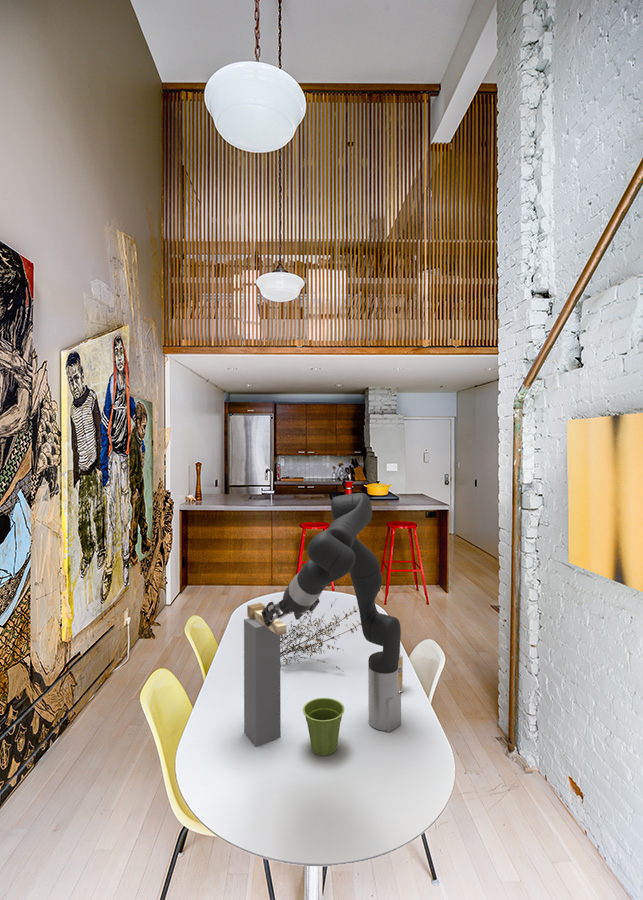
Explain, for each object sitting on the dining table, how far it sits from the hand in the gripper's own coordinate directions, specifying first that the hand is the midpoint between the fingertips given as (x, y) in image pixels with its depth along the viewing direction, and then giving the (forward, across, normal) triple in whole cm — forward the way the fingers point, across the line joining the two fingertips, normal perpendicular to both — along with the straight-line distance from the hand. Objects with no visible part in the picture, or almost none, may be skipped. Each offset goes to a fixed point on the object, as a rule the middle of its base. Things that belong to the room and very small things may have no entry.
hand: (281, 619), depth 121 cm
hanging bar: (+14, -2, -4) cm, 15 cm away
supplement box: (+39, -50, +20) cm, 66 cm away
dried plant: (+62, -42, -1) cm, 75 cm away
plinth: (+39, -2, +18) cm, 43 cm away
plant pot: (+28, -14, +29) cm, 43 cm away
